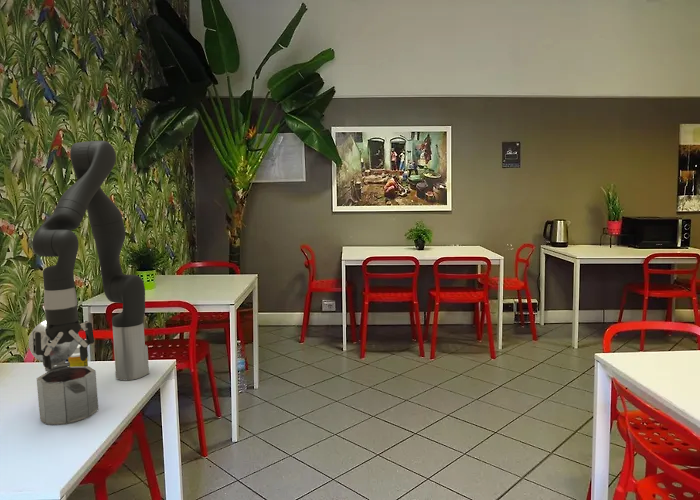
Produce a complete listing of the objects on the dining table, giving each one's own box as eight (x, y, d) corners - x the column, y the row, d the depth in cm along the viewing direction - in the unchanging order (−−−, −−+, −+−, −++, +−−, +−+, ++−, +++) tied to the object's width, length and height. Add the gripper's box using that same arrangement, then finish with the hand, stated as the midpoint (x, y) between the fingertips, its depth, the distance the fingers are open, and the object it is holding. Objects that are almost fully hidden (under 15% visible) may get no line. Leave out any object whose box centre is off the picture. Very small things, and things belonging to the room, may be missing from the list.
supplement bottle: (87, 378, 169) (85, 347, 168) (68, 380, 167) (65, 349, 166) (89, 372, 174) (87, 342, 173) (70, 375, 172) (68, 344, 171)
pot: (85, 398, 152) (82, 361, 151) (110, 416, 140) (107, 376, 138) (32, 413, 143) (29, 374, 141) (54, 434, 130) (50, 391, 129)
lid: (82, 363, 150) (79, 362, 151) (74, 298, 149) (72, 298, 151) (33, 374, 141) (31, 373, 142) (25, 306, 140) (22, 306, 142)
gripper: (84, 298, 146) (89, 354, 148) (26, 307, 136) (32, 368, 138) (94, 302, 141) (99, 360, 143) (35, 312, 131) (40, 374, 133)
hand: (66, 364), depth 140 cm, fingers open, 8 cm apart
